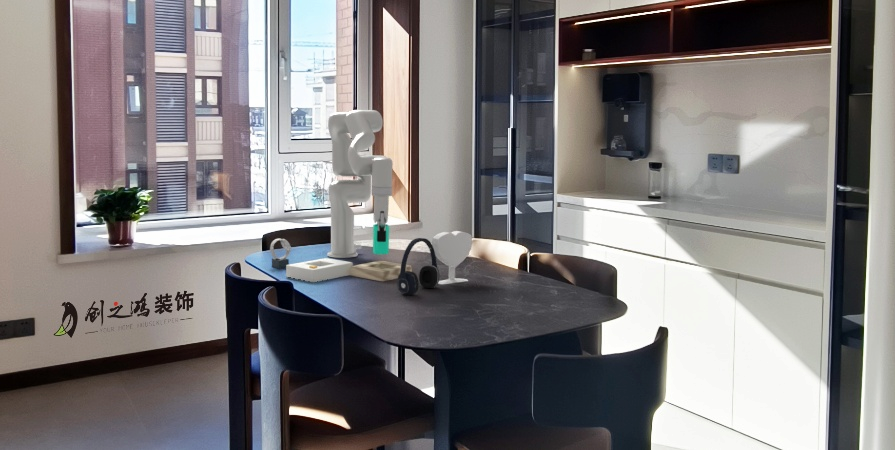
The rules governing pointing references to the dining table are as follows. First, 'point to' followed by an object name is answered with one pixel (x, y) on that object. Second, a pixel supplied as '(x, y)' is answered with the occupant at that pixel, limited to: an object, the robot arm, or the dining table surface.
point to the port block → (319, 269)
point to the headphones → (427, 273)
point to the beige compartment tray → (378, 270)
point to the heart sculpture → (452, 251)
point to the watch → (281, 261)
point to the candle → (380, 246)
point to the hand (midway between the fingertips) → (381, 239)
